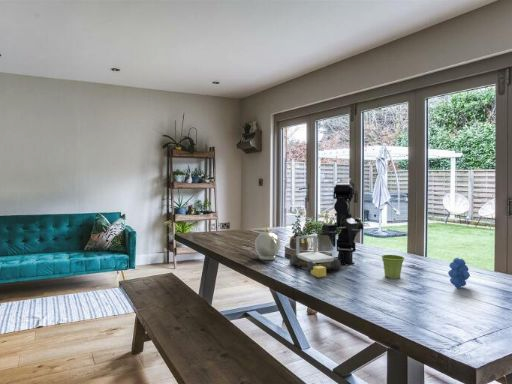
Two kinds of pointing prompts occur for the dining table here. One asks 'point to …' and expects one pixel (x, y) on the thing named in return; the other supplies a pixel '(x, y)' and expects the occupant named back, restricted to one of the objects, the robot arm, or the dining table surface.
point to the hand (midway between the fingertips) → (342, 246)
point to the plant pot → (392, 265)
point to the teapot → (267, 245)
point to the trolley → (313, 256)
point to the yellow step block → (319, 271)
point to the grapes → (458, 273)
